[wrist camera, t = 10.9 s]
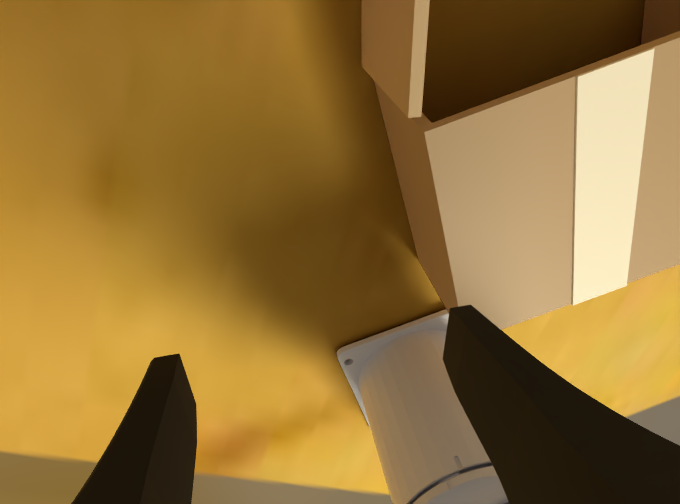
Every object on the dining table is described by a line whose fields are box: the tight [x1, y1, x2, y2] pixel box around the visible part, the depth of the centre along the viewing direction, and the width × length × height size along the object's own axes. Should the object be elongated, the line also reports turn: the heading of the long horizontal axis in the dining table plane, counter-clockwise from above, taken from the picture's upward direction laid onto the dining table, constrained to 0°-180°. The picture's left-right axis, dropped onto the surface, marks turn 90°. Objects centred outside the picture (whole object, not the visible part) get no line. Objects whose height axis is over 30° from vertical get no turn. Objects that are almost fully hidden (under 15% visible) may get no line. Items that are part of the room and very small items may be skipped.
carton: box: [374, 0, 680, 330], centre depth 20 cm, size 10×12×6 cm
